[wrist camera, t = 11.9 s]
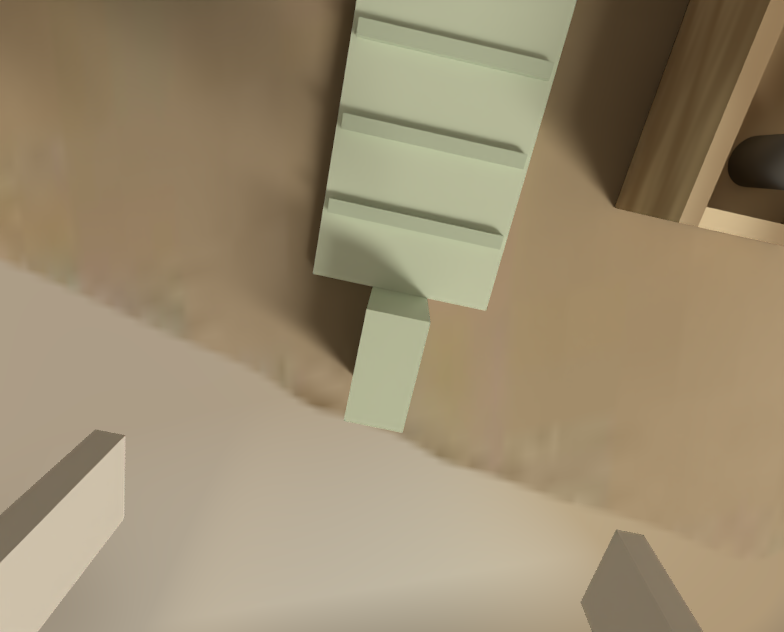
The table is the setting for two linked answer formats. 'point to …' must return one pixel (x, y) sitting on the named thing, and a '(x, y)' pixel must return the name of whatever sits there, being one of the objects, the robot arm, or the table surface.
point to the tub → (713, 121)
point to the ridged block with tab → (430, 169)
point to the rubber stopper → (758, 162)
